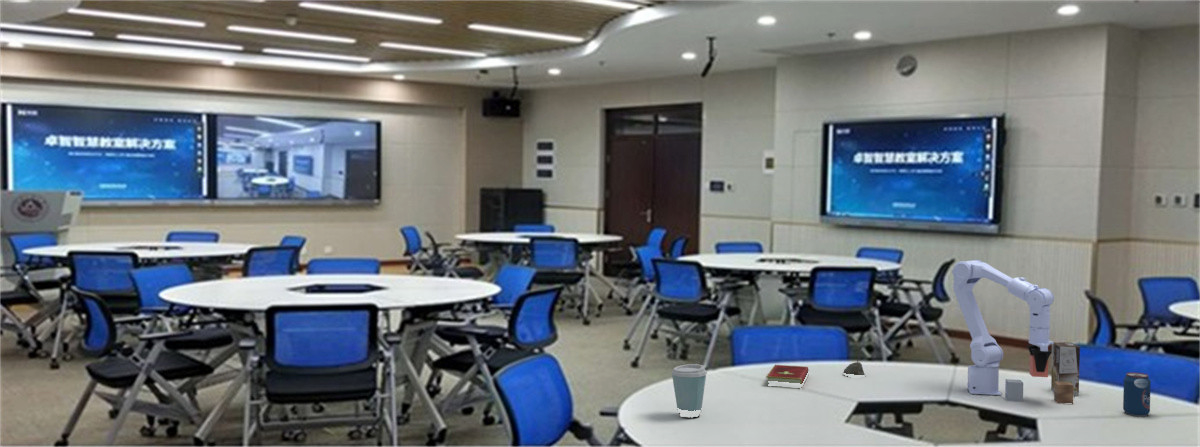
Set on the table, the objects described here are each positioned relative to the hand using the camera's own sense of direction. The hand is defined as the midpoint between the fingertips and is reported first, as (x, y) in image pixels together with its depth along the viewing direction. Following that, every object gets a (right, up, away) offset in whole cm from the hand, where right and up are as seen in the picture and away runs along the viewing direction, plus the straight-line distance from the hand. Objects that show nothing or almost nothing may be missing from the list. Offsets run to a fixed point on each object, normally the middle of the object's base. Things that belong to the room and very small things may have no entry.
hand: (1038, 370), depth 287 cm
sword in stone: (-47, -9, +41) cm, 63 cm away
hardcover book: (-72, -10, +32) cm, 80 cm away
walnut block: (+8, -10, +1) cm, 14 cm away
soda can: (+23, -11, -14) cm, 29 cm away
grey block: (-6, -10, +5) cm, 13 cm away
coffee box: (+15, -10, +14) cm, 23 cm away
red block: (0, -2, 0) cm, 2 cm away
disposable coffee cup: (-112, -12, -14) cm, 113 cm away
